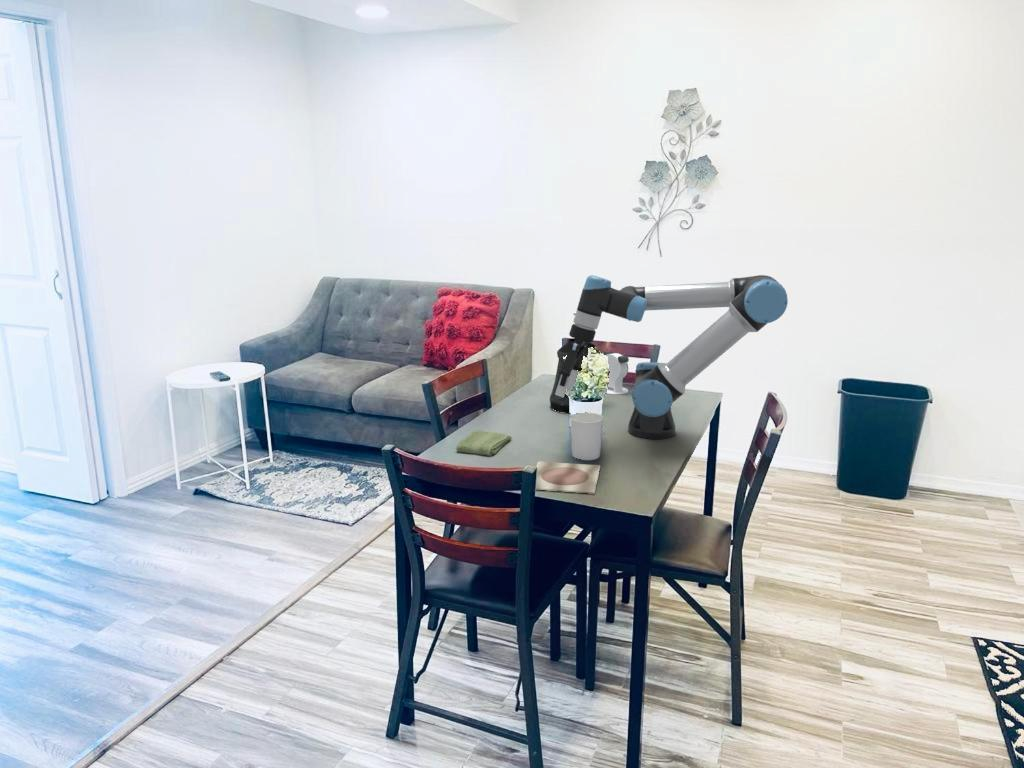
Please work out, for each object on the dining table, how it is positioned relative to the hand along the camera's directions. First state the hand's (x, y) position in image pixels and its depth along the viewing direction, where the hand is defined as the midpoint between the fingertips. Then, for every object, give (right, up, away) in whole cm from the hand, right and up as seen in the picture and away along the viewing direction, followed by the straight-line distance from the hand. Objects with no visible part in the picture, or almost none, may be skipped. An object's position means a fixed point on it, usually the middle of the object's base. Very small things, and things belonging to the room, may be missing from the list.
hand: (563, 392), depth 233 cm
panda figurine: (+24, 0, +63) cm, 68 cm away
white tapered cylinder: (+6, -19, -7) cm, 21 cm away
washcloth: (-25, -17, +2) cm, 30 cm away
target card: (-1, -23, -24) cm, 34 cm away
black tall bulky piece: (+7, -6, +43) cm, 44 cm away
